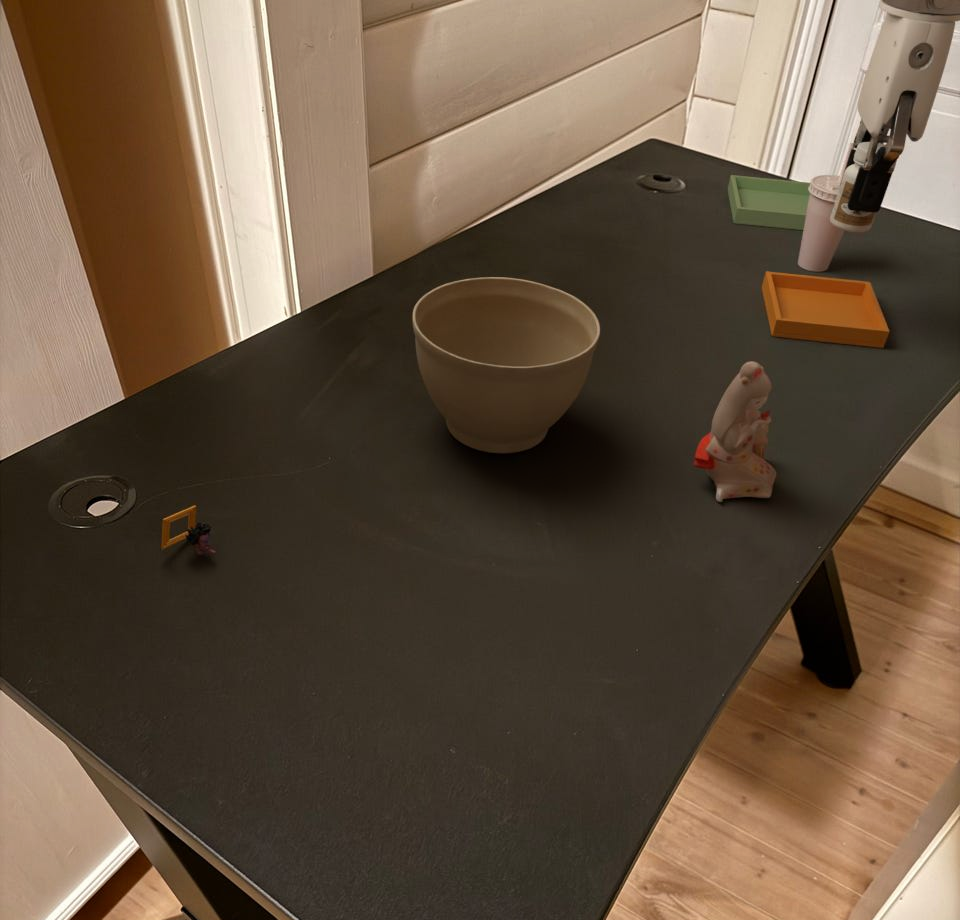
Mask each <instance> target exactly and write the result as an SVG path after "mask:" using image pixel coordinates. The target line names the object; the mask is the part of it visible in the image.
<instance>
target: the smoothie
mask: <svg viewBox="0 0 960 920" xmlns="http://www.w3.org/2000/svg"><path fill="white" fill-rule="evenodd" d="M851 149H855V148H853V142H850V143H849V146H848V149H847V152H846V155H845V159H844V162H843V165H842V169H841V172H840V175H836V174H819V175H815V176H814V177H812V178H811V179H810V181H809V183H810V185H809V187H808V190H809V192H810V196H809V201H808V207H807V213H806V219H805V224H804V230H802V236H801V241H800V242H801V243H800V246H799V247H800V248H799V253H798V259H797V265H798V266H799V267H800V268H802V269H804V270H805V271H810V272H815V273H821V272H825V271H827V270H828V269H829V266H830V265H831V262H832V260H833V258H834V255H835V254H836V251H837V249H838V247H839V244H840V243H841V241H842V238H843V236H844V234H845V232H846V231H844V230H841V229H839V228H837V227H835V226H834V225H832V224H831V222H830V216H831V213H832V210H833V207H834V204H835V200H836V197H837V194H838V191H839V188H840V183H841V180H842V177H843V174H844V171H845V167H846V164H847V161H848V158H849V155H850V152H851Z"/></svg>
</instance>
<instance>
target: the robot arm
mask: <svg viewBox="0 0 960 920" xmlns="http://www.w3.org/2000/svg"><path fill="white" fill-rule="evenodd" d="M878 8H879V9H880V10H881V11H883V12H886V14H885V16H884V19H883V22H882V24H881V26H880V30H879V33H878V34H877V35H878V36H877V38H876V41H875V44H874V47H873V50H872V52H871V56H870V59H869V63H868V65H867V69H866V72H865V75H864V78H863V81H862V85H861V88H860V92H859V96H858V101H857V112H858V114H859V116H860V117H859V118H860V120H859V125H858V128H857V131H856V134H855V137H854V139H853V142H852V143H853V148H854V149H851V152H850V155H849V158H848V161H847V164H846V167H845V170H846V169H847V168H848V167H849V166H851V165H853V164H854V163H855V162H854V154H855V152H856V149H857V146H858V144H859V143H862V142H870V144H869V148H868V151H867V155H866V159H865V163H864V167H859V170H858V174H857V177H856V180H855V183H854V186H853V189H852V192H851V195H850V198H849V201H848V205H847V206H848V209H849V210H853V211H863V212H873V213H876V214H877V213H878V212H879V211H881V207H882V204H883V201H884V200H885V197H886V193H887V191H888V187H889V184H890V182H891V179H892V176H893V173H894V171H895V168H896V165H897V162H898V159H899V158H900V156H901V155H902V154H903V152H904V151H905V146H906V141H907V137H908V139H909V140H910V141H911V142H915V143H916V142H918V141H920V140H921V139H922V138H923V136H924V133H925V132H926V131H925V130H926V128H927V125H928V121H929V119H930V115H931V112H932V109H933V107H934V103H935V100H936V97H937V93H938V91H939V87H940V84H941V81H942V77H943V74H944V72H945V67H946V64H947V60H948V57H949V54H950V50H951V45H952V41H953V36H954V33H955V28H956V22H959V21H960V0H880V1H879V5H878ZM888 134H889V135H888ZM878 143H880V144H884V145H885V147H880V149H879V150H878V151H877V153H876V150H877V146H878ZM844 172H845V171H844ZM843 175H844V174H843ZM842 178H843V177H842ZM841 181H842V180H841ZM840 185H841V183H840Z"/></svg>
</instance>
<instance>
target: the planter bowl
mask: <svg viewBox="0 0 960 920" xmlns="http://www.w3.org/2000/svg"><path fill="white" fill-rule="evenodd" d="M412 328H413V333H414V336H415V352H416V353H415V354H416V360H417V364H418V368H419V372H420V376H421V378H422V381H423V384H424V387H425V388H426V391H427V393H428V395H429V396H430V399H431V401H433V404H434V406H435V407H436V408H437V410H438V411H439V413H440V414H441V415H442V416H443V418H444V419H445V424H446V427H447V429H448V431H449V433H450V434H451V435H452V437H453V438H455V440H457V441H458V442H459V443H460V444H463V445H465V446H467V447H469V448H472V449H473V450H477V451H480V452H483V453H484V452H485V453H490V454H514V453H519V452H520V453H521V452H524V451H527V450H531V449H532V448H534V447H535V446H537V445H539V444H540V443H542V441H543V440H544V439H545V438H546V436H547V434H548V432H549V429H550V428H551V427H552V426H554V424H555V423H556V422H558V421H559V420H560V419H561V417H563V416H564V414H565V413H566V412H567V411H568V410H569V408H571V406H572V404H573V403H574V402H575V400H576V399H577V397H578V395H580V392H581V391H582V388H583V386H584V384H585V382H586V379H587V377H588V374H589V372H590V369H591V365H592V361H593V357H594V352H595V351H596V349H597V346H598V343H599V341H600V336H601V325H600V321H599V319H598V317H597V315H596V314H595V312H594V311H593V310H592V309H591V308H590V307H589V306H588V305H587V304H586V303H584V302H583V301H581V299H579V298H578V297H576V296H575V295H572V294H570V293H567V292H565V291H563V290H561V289H559V288H556V287H554V286H553V287H552V286H550V285H547V284H543V283H540V282H536V281H532V280H527V279H522V278H513V277H505V276H504V277H503V276H502V277H497V276H495V277H494V276H490V277H489V276H488V277H487V276H485V277H473V278H465V279H459V280H455V281H451V282H447V283H445V284H442V285H440V286H437V287H435V288H433V289H431V290H430V291H428V292H426V293H425V294H424V295H422V296H421V298H420V299H418V301H417V302H416V304H415V305H414V307H413V310H412Z"/></svg>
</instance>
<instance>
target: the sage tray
mask: <svg viewBox="0 0 960 920" xmlns="http://www.w3.org/2000/svg"><path fill="white" fill-rule="evenodd" d="M809 185H810V182H807V181H806V182H805V181H796V180H786V179H778V178H777V179H776V178H766V177H757V176H756V177H755V176H747V175H746V176H745V175H735V174H730V177H729V181H728V186H727V195H728V200H729V206H730V211H731V215H732V216H731V217H732V222H733V224H736V225H737V224H738V225H747V226H757V227H766V228H778V229H786V230H797V231H803V230H804V224H805V219H806V213H807V207H808V201H809V196H810V192H809V190H808V187H809Z"/></svg>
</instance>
